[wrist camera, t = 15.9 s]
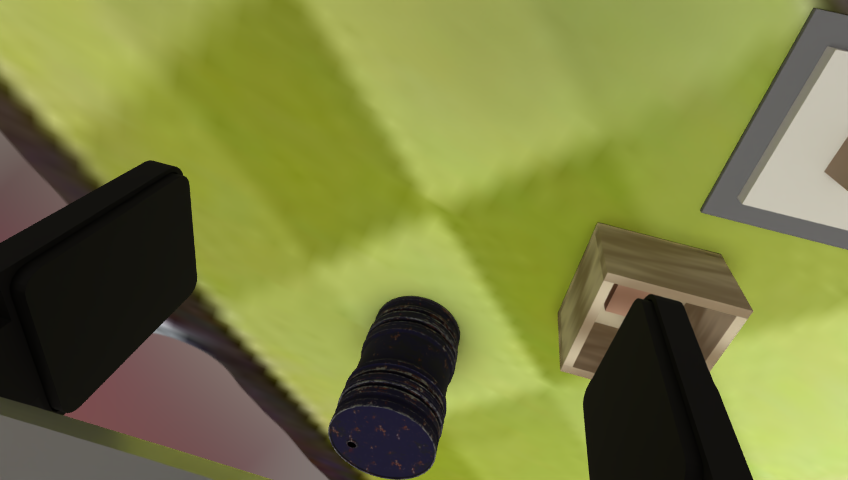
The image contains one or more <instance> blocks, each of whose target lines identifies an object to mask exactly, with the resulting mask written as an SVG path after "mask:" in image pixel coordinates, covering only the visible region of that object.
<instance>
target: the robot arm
mask: <svg viewBox="0 0 848 480" xmlns="http://www.w3.org/2000/svg"><path fill="white" fill-rule="evenodd" d="M196 282H197V271H196V259H195V247H194V235H193V223H192V211H191V198H190V186H189V181H188V179H187V178H186V177H185V176H183V173H182V171H181V170H180V169H179V168H178V167H175V166H171V165H167V164H163V163H160V162H156V161H150V160H149V161H146V162H144V163H142V164H140V165H139V166H137V167H135V168H133V169H131V170H130V171H128V172H126V173H124V174H123V175H121V176H119V177H117V178H115V179H114V180H112V181H110V182H108V183H107V184H105V185H103V186H101V187H99V188H98V189H96V190H94V191H92V192H90V193H89V194H87V195H85V196H83V197H82V198H80V199H78V200H76V201H74V202H73V203H71V204H69V205H67V206H66V207H64V208H62V209H60V210H58V211H57V212H55V213H53V214H51V215H50V216H48V217H46V218H44V219H42V220H41V221H39V222H37V223H35V224H33V225H32V226H30V227H28V228H27V229H24V230H23V231H21V232H19V233H17V234H16V235H14V236H12V237H10V238H8V239H7V240H5V241H3V242H1V243H0V480H271V479H268V478H265V477H262V476H259V475H256V474H252V473H249V472H246V471H243V470H239V469H236V468H233V467H230V466H227V465H223V464H220V463H217V462H213V461H210V460H207V459H204V458H201V457H198V456H194V455H191V454H188V453H185V452H181V451H178V450H175V449H171V448H168V447H165V446H162V445H159V444H155V443H152V442H148V441H145V440H142V439H139V438H135V437H132V436H129V435H126V434H122V433H119V432H116V431H113V430H109V429H105V428H103V427H99V426H96V425H93V424H89V423H86V422H83V421H80V420H76V419H73V418H70V417H67V416H63V415H64V414H65V413H70V412H73V411H75V410H76V409H77V408H79V407H80V406H81V405H82V404H83V403H84V402H85V401H86V400H87V399H88V398H89V397H90V396H91V395H92V394H93V393H94V392H95V391H96V390H97V389H98V388H99V387H100V386H101V385H102V384H103V383H104V382H105V381H106V380H107V379H108V378H109V377H110V376H111V375H112V374H113V373H114V372H115V371H116V370H117V369H118V368H119V366H120V365H122V364H123V362H125V360H126V359H127V358H128V357H129V356H130V355H131V354H132V353H133V352H134V351H135V350H136V349H137V348H138V347H139V346H140V345H141V344H142V343H143V342H144V341H145V340H146V339H147V338H148V337H149V336H150V335H151V334H152V333H153V332H154V331H155V330H156V329H157V328H158V327H159V326H160V325H161V324H162V323H163V322H164V321H165V320H166V319H167V318H168V317H169V316H170V315H171V314H172V313H173V312H174V311H175V310H176V309H177V308H178V307H179V306H180V305H181V304H182V303H183V302H184V301H185V300H186V299H187V298H188V297H189V296H190V295H191V293H192V292H193V290H194V289H195V286H196ZM583 411H584V422H585V433H586V444H587V455H588V466H589V477H590V480H753V478H752V475H751V473H750V470H749V468H748V465H747V463H746V460H745V458H744V455H743V452H742V450H741V447H740V445H739V442H738V440H737V437H736V435H735V432H734V430H733V427H732V424H731V422H730V419H729V417H728V414H727V412H726V409H725V407H724V404H723V402H722V399H721V396H720V394H719V391H718V389H717V387H716V386H715V384H714V382H713V380H712V377H711V374H710V372H709V369H708V367H707V364H706V362H705V359H704V356H703V354H702V351H701V349H700V346H699V344H698V341H697V339H696V336H695V333H694V331H693V328H692V326H691V323H690V321H689V318H688V315H687V313H686V310H685V308H684V305H683V304H682V302H679V301H676V300H673V299H669V298H665V297H661V296H658V295H654V294H649V295H647V296H646V297H645V298H644V299H640V298H637V299H636V300H635V301H634V302H633V304H632V305H631V307H630V309H629V311H628V313H627V315H626V316H625V318H624V320H623V322H622V324H621V326H620V328H619V329H618V331H617V333H616V335H615V337H614V339H613V341H612V342H611V344H610V346H609V348H608V350H607V352H606V354H605V355H604V357H603V359H602V361H601V363H600V365H599V366H598V368H597V370H596V372H595V374H594V376H593V378H592V379H591V381H590V383H589V385H588V387H587V389H586V392H585V395H584V400H583Z"/></svg>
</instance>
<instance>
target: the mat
mask: <svg viewBox="0 0 848 480" xmlns="http://www.w3.org/2000/svg"><path fill="white" fill-rule="evenodd" d="M827 46H829V47H833V48H838V49H842V50H847V51H848V16H847V15H843V14H838V13H834V12H829V11H825V10H820V9H816V8H813V10H812V12H811V14H810V16H809V17H808V19H807V21H806V23H805V25H804V26H803V28H802V30H801V32H800V33H799V35H798V37H797V39H796V41H795V42H794V44H793V46H792V48H791V49H790V51H789V53H788V55H787V57H786V58H785V60H784V62H783V64H782V65H781V67H780V69H779V71H778V73H777V74H776V76H775V78H774V80H773V81H772V83H771V85H770V87H769V89H768V90H767V92H766V94H765V96H764V98H763V99H762V101H761V103H760V105H759V106H758V108H757V110H756V112H755V114H754V115H753V117H752V119H751V121H750V122H749V124H748V126H747V128H746V130H745V131H744V133H743V135H742V137H741V138H740V140H739V142H738V144H737V146H736V147H735V149H734V151H733V153H732V154H731V156H730V158H729V160H728V162H727V163H726V165H725V167H724V169H723V171H722V172H721V174H720V176H719V178H718V179H717V181H716V183H715V185H714V187H713V188H712V190H711V192H710V194H709V195H708V197H707V199H706V201H705V203H704V204H703V206H702V208H701V210H700V211H701V213H705V214H709V215H713V216H717V217H721V218H725V219H729V220H733V221H737V222H741V223H745V224H749V225H752V226H756V227H760V228H764V229H768V230H772V231H776V232H780V233H784V234H788V235H792V236H796V237H800V238H804V239H808V240H812V241H816V242H819V243H823V244H827V245H831V246H835V247H839V248H843V249H847V250H848V230H844V229H840V228H836V227H832V226H828V225H824V224H820V223H815V222H811V221H807V220H803V219H799V218H795V217H791V216H787V215H783V214H779V213H775V212H771V211H767V210H763V209H759V208H755V207H751V206H747V205H743V204H741V202H740V201H739V200H738V198H737V197H738V195H739V194H740V192H741V190H742V189H743V187H744V185H745V184H746V182H747V180H748V179H749V177H750V175H751V174H752V172H753V170H754V168H755V167H756V165H757V163H758V162H759V160H760V158H761V157H762V155H763V153H764V152H765V150H766V148H767V147H768V145H769V143H770V142H771V140H772V138H773V137H774V135H775V133H776V132H777V130H778V128H779V126H780V125H781V123H782V121H783V120H784V118H785V116H786V115H787V113H788V111H789V110H790V108H791V106H792V105H793V103H794V101H795V100H796V98H797V96H798V95H799V93H800V91H801V90H802V88H803V86H804V85H805V83H806V81H807V79H808V78H809V76H810V74H811V73H812V71H813V69H814V68H815V66H816V64H817V63H818V61H819V59H820V58H821V56H822V54H823V53H824V51H825V49H826V48H827Z"/></svg>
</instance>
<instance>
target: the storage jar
mask: <svg viewBox="0 0 848 480" xmlns="http://www.w3.org/2000/svg"><path fill="white" fill-rule="evenodd" d="M459 339H460V331H459V327H458V324H457V322H456V320H455V319H454V317H453V316H452V315H451V313H450V312H449V311H448V310H447V309H445V308H444V307H443V306H441V305H440V304H438V303H436V302H434V301H432V300H429V299H426V298H423V297H417V296H404V297H398V298H396V299H393V300H391V301H389V302H387V303H386V304H385V305H384V306H383V307H382V308H381V309H380V311H379V312H378V314H377V317H376V320H375V322H374V323H373V324H372V326H371V328H370V330H369V332H368V335H367V337H366V340H365V342H364V344H363V347H362V351H361V359H360V361H359V364H358V366H357V368H356V369H355V370H354V371H353V372H352V374H351V376H350V377H349V378H348V380H347V382H346V385H345V388H344V390H343V392H342V394H341V396H340V398H339V401H338V406H337V408H336V411H335V414H334V415H333V417H332V420H331V422H330V425H329V430H328V434H329V439H330V442H331V444H332V446H333V447H334V449H335V451H336V452H337V453H338V454H339V455H340V456H341V457H342V458H343V459H344V460H345V461H346V462H348V463H349V464H350V465H352V466H353V467H355V468H357V469H359V470H361V471H363V472H365V473H367V474H370V475H373V476H376V477H380V478H386V479H395V480H401V479H410V478H414V477H417V476H420V475H422V474H424V473H425V472H427V471H428V470H429V469H430V468H431V467H432V465H433V463H434V461H435V457H436V452H437V446H438V442H439V439H440V437H441V434H442V429H443V424H444V418H445V415H446V397H445V396H446V391H447V387H448V385H449V383H450V382H451V379H452V376H453V374H454V371H455V365H456V360H457V355H458V350H457V349H458V344H459Z"/></svg>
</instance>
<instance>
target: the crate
mask: <svg viewBox="0 0 848 480" xmlns="http://www.w3.org/2000/svg"><path fill="white" fill-rule="evenodd" d="M649 294H654V295H658V296H661V297H665V298H669V299H673V300H676V301H679V302H682V304H683V305H684V308H685V310H686V313H687V315H688V318H689V321H690V323H691V326H692V328H693V331H694V333H695V336H696V339H697V341H698V344H699V346H700V349H701V351H702V354H703V356H704V359H705V362H706V364H707V367H708V369H709V372H710V371H711V369H712V368H713V366H714V365H715V364H716V362H717V361H718V359H719V358H720V357H721V355H722V354H723V353H724V351H725V350H726V348H727V347H728V346H729V344H730V343H731V341H732V340H733V339H734V337H735V336H736V334H737V333H738V332H739V330H740V329H741V328H742V326H743V325H744V323H745V322H746V321H747V319H748V318H749V316H750V315H751V314H752V312H753V310H752V308H751V306H750V304H749V303H748V301H747V299H746V297H745V296H744V294H743V292H742V290H741V289H740V287H739V285H738V283H737V282H736V280H735V278H734V277H733V275H732V273H731V271H730V270H729V268H728V266H727V264H726V263H725V261H724V259H723V257H722V256H721V254H718V253H714V252H710V251H706V250H702V249H698V248H694V247H690V246H687V245H683V244H679V243H675V242H671V241H667V240H663V239H660V238H656V237H652V236H648V235H644V234H640V233H636V232H633V231H629V230H625V229H621V228H617V227H613V226H609V225H605V224H602V223H597V225H596V227H595V230H594V232H593V234H592V236H591V239H590V241H589V243H588V246H587V248H586V250H585V252H584V255H583V257H582V259H581V262H580V264H579V266H578V268H577V271H576V273H575V275H574V278H573V280H572V282H571V284H570V287H569V289H568V291H567V294H566V296H565V298H564V300H563V303H562V305H561V307H560V309H559V312H558V330H559V353H560V371H563V372H567V373H570V374H574V375H577V376H581V377H585V378H588V379H592V378H593V376H594V374H595V372H596V370H597V368H598V366H599V365H600V363H601V361H602V359H603V357H604V355H605V354H606V352H607V350H608V348H609V346H610V344H611V342H612V341H613V339H614V337H615V335H616V333H617V331H618V329H619V328H620V326H621V324H622V322H623V320H624V318H625V316H626V315H627V313H628V311H629V309H630V307H631V305H632V304H633V302H634V301H635V300H636V299H637V298H640V299H644V298H645V297H646V296H647V295H649Z"/></svg>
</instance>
